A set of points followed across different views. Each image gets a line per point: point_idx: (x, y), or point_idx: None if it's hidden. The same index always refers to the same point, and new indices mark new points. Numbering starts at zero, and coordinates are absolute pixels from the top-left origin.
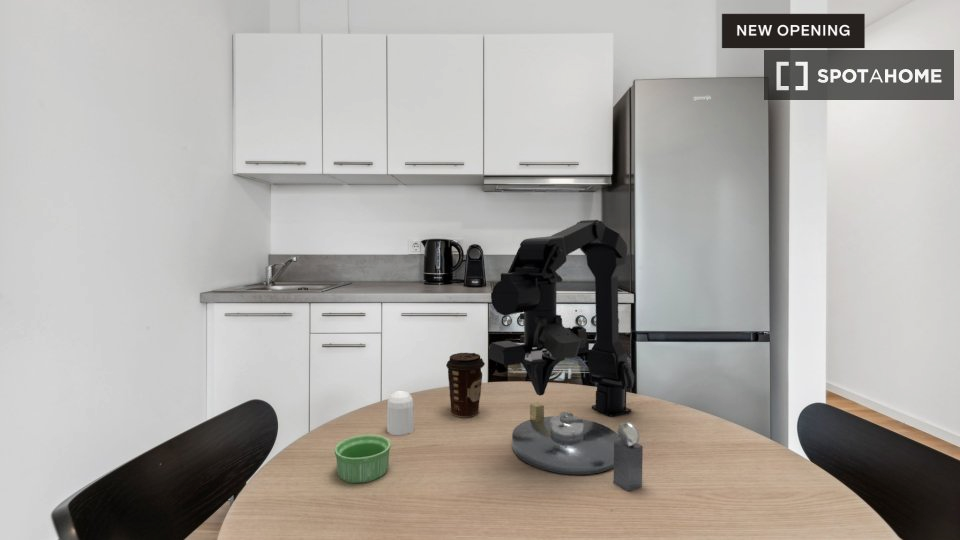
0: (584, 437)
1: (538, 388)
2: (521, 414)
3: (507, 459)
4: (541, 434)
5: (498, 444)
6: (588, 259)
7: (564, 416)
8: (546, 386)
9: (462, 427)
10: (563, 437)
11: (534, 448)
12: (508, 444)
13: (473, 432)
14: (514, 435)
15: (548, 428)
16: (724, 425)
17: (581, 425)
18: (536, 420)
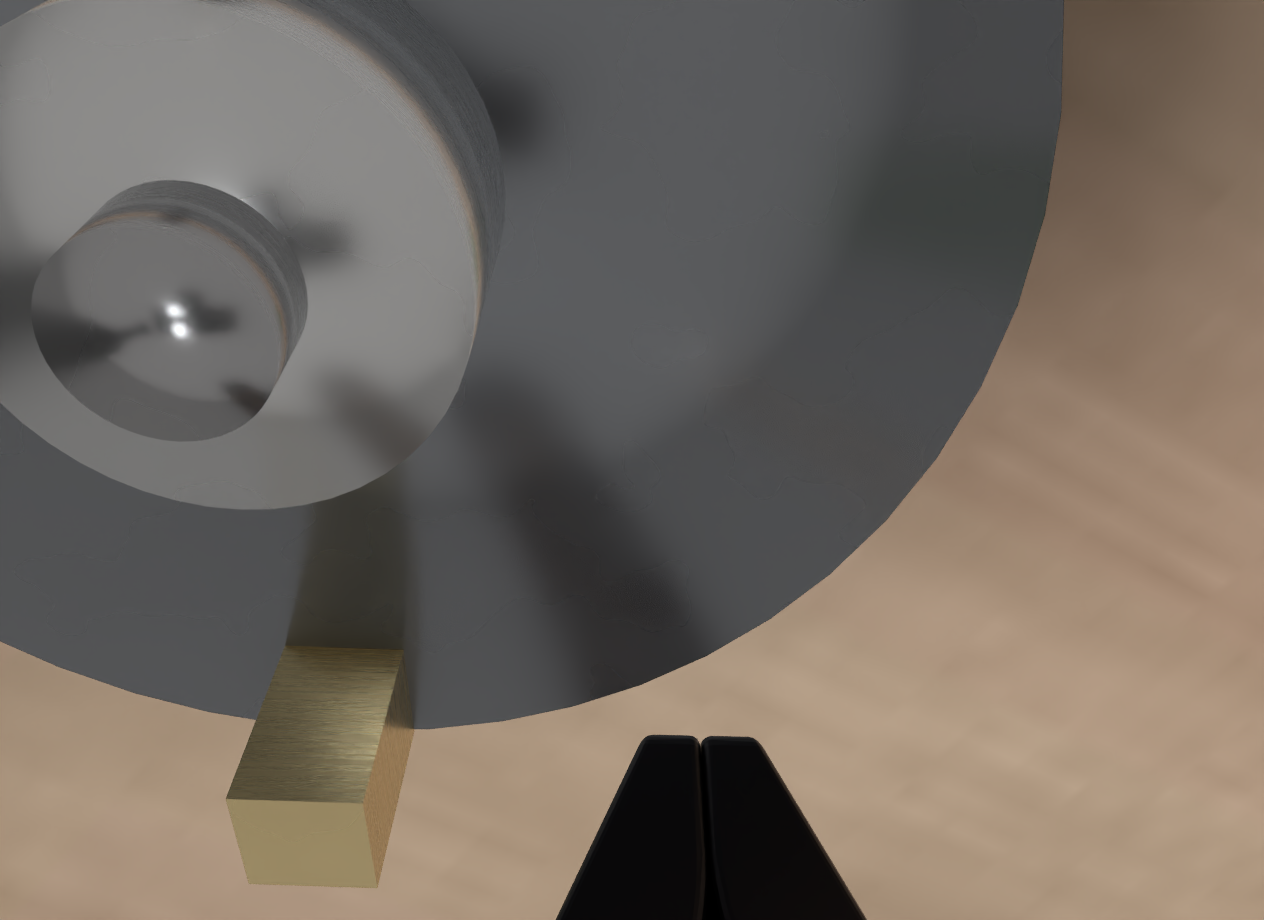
0: None
1: (838, 896)
2: (310, 892)
3: (1105, 265)
4: (543, 397)
5: (925, 559)
6: None
7: (244, 299)
8: (572, 890)
9: (952, 913)
10: (425, 67)
11: (910, 127)
12: None
13: (942, 818)
14: (848, 525)
15: None
16: None
17: (31, 11)
18: (388, 669)
